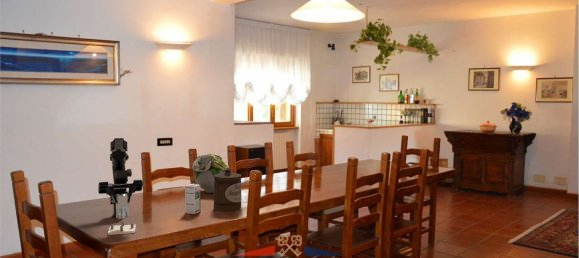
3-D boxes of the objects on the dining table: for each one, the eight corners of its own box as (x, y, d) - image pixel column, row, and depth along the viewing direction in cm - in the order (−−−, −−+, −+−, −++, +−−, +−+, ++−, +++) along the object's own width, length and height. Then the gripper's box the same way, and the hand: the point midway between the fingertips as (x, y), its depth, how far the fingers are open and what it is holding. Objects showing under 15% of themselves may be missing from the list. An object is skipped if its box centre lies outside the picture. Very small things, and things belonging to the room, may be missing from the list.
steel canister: (116, 215, 211) (116, 193, 210) (128, 215, 212) (128, 193, 212) (115, 218, 206) (115, 196, 205) (128, 218, 207) (128, 195, 207)
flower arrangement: (184, 194, 292) (184, 154, 290) (203, 187, 315) (203, 150, 314) (221, 197, 284) (221, 156, 283) (237, 189, 308) (237, 152, 307)
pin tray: (110, 228, 213) (110, 221, 213) (135, 226, 216) (135, 220, 216) (107, 234, 203) (107, 227, 203) (134, 233, 206) (134, 226, 206)
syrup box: (194, 214, 241) (194, 186, 240) (184, 213, 243) (184, 185, 242) (200, 211, 246) (200, 184, 245) (191, 210, 248) (191, 183, 247)
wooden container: (232, 212, 246) (232, 170, 244) (208, 209, 252) (208, 168, 251) (246, 206, 259) (246, 167, 258) (223, 204, 265) (223, 165, 264)
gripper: (98, 164, 207) (100, 193, 198) (142, 162, 215) (146, 190, 206) (97, 178, 215) (99, 208, 206) (139, 176, 223) (143, 204, 214)
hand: (122, 202), depth 208 cm, fingers closed on steel canister, 5 cm apart
